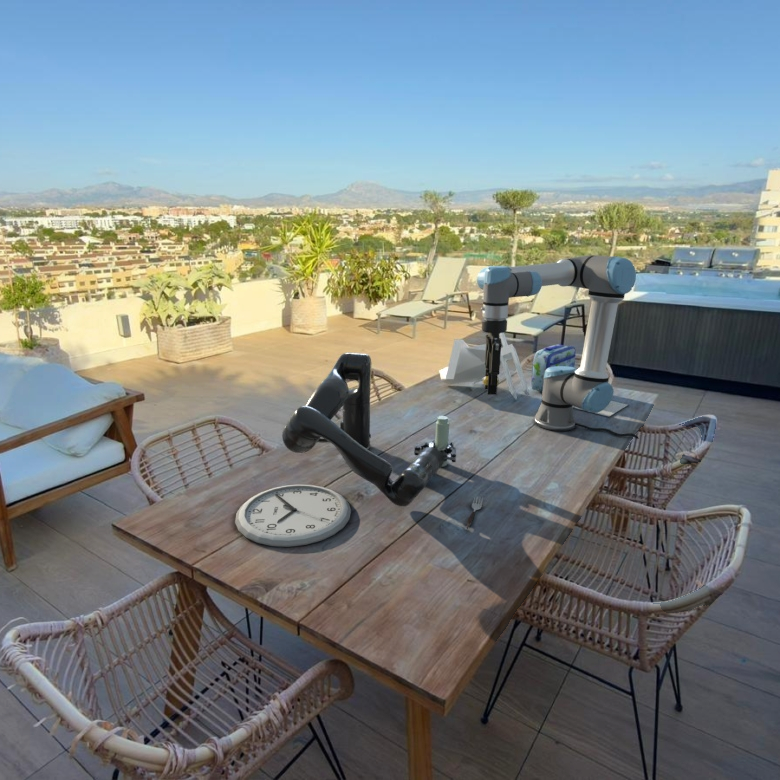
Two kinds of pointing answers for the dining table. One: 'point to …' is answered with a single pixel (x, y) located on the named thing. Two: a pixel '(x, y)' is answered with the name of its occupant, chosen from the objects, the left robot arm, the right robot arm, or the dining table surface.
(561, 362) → the lunch box
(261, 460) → the dining table surface
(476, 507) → the fork
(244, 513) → the wall clock
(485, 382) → the lid
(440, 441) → the jar
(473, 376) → the white plastic object
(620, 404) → the invitation card
